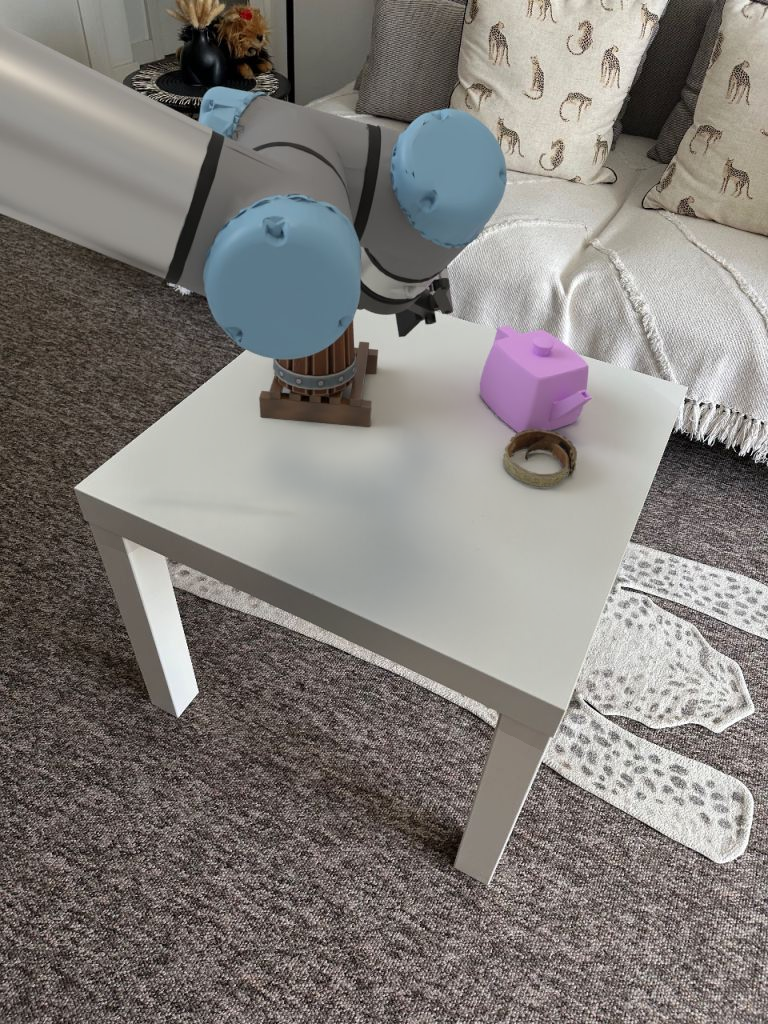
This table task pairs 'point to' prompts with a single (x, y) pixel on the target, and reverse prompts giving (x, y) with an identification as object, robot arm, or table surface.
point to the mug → (320, 368)
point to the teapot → (534, 380)
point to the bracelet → (536, 441)
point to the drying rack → (325, 398)
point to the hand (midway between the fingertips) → (342, 330)
